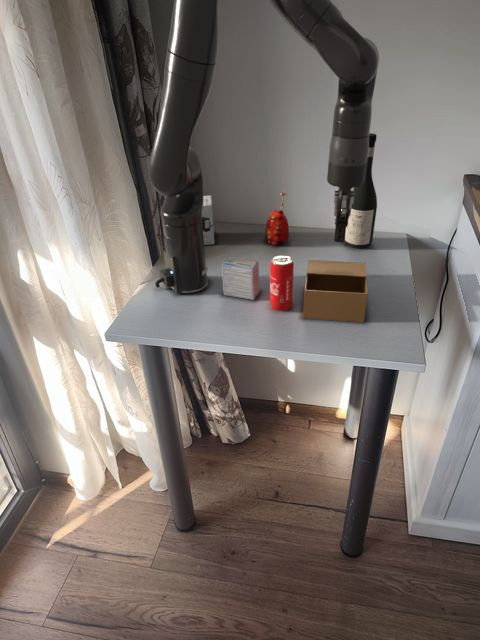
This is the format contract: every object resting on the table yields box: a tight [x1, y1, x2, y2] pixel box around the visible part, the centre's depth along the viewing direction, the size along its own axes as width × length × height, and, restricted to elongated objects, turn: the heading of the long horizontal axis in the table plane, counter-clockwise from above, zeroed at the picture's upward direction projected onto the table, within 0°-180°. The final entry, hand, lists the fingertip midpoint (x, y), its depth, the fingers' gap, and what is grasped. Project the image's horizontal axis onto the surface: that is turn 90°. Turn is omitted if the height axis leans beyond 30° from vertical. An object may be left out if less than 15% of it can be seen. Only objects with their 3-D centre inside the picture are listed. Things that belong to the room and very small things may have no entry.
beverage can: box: [269, 254, 295, 312], centre depth 110 cm, size 5×5×12 cm
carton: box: [302, 273, 369, 323], centre depth 111 cm, size 14×14×7 cm
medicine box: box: [221, 256, 260, 301], centre depth 115 cm, size 8×4×9 cm, turn 71°
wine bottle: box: [344, 132, 378, 249], centre depth 131 cm, size 8×8×30 cm
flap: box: [306, 259, 368, 278], centre depth 112 cm, size 7×14×1 cm, turn 82°
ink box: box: [202, 195, 216, 246], centre depth 140 cm, size 9×5×12 cm, turn 6°
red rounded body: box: [264, 189, 290, 247], centre depth 138 cm, size 8×7×15 cm
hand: (339, 240), depth 105 cm, fingers closed
